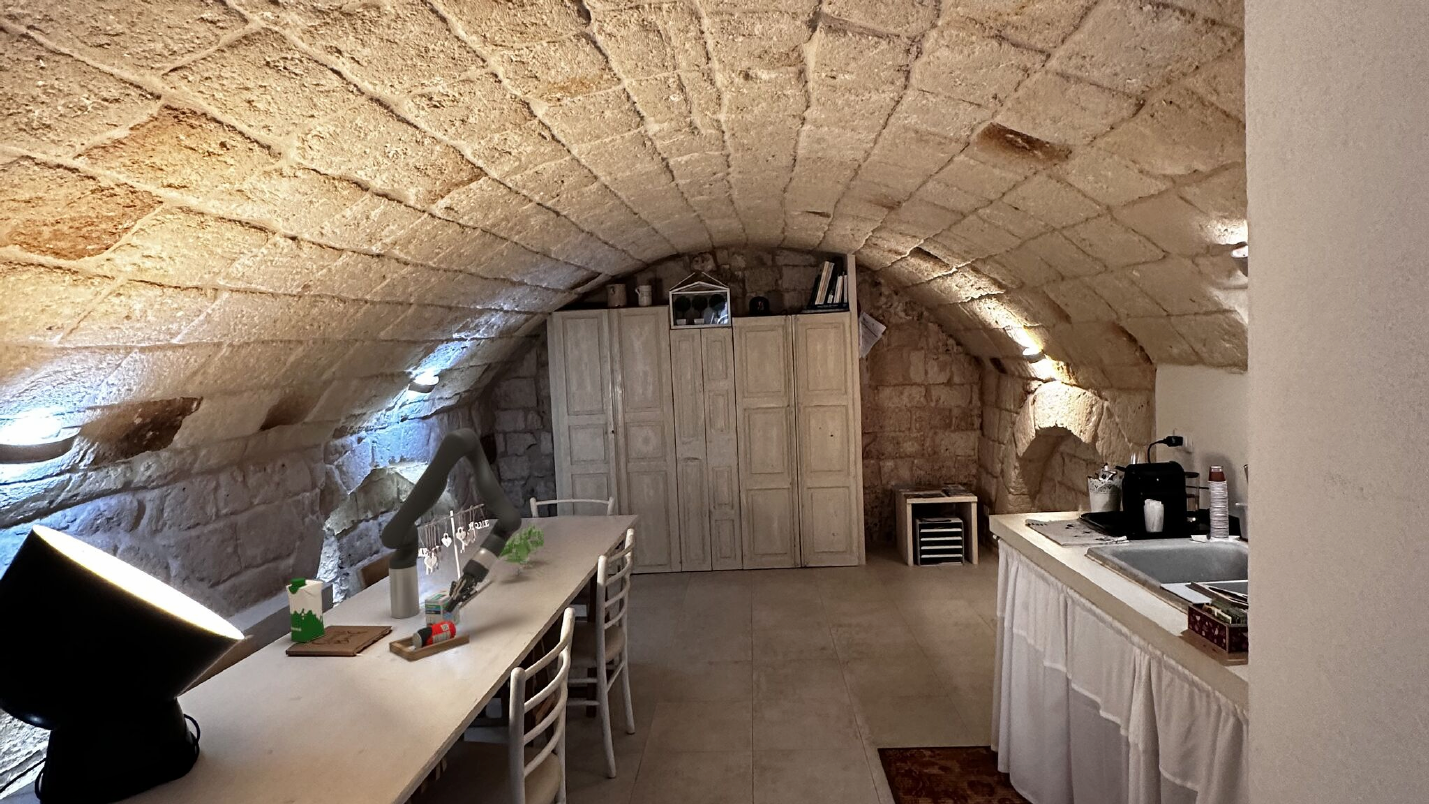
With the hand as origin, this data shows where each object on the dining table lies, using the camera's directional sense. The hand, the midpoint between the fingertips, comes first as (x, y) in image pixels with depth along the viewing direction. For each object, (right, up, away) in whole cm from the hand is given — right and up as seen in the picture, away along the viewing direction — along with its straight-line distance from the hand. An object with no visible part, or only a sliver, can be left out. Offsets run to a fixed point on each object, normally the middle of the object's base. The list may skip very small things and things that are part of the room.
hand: (447, 611), depth 242 cm
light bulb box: (-6, -9, +14) cm, 18 cm away
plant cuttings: (+9, -5, +75) cm, 75 cm away
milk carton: (-48, -11, +7) cm, 50 cm away
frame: (-4, -10, -4) cm, 11 cm away
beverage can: (+1, -6, +2) cm, 6 cm away
